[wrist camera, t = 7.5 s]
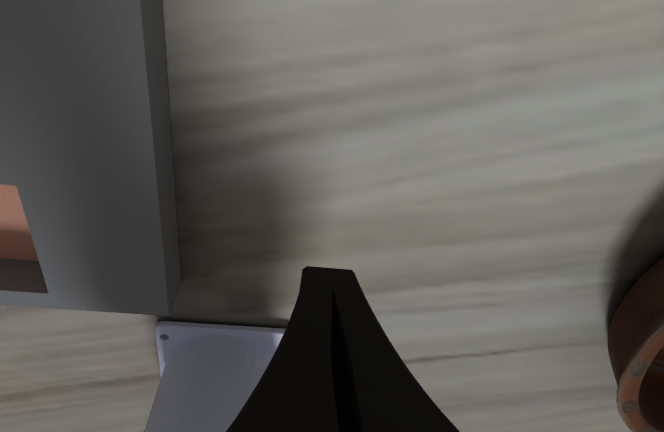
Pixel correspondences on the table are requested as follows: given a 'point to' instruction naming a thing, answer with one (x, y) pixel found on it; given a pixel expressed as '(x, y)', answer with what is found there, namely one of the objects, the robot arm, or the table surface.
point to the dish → (640, 352)
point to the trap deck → (86, 157)
